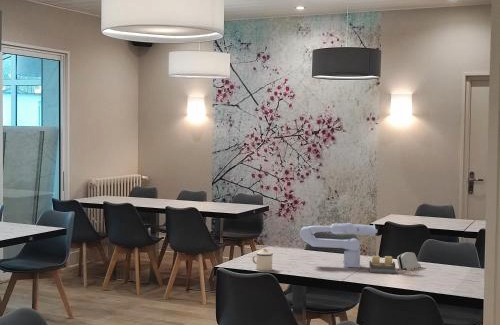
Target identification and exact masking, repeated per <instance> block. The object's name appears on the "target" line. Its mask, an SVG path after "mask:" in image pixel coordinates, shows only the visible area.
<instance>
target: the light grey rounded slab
mask: <svg viewBox="0 0 500 325" xmlns="http://www.w3.org/2000/svg"><path fill="white" fill-rule="evenodd" d="M396 260H397V264H398V265H397V266H398V269H399V270H406V271H407V270H408V271H410V270H411V269H412V270H415V269H418V267H419V268H421V267H422V266H421V263H420V262H418V261H419V260H418V258H417V256H416V254H415V252H412V251H411V252H410V251H409V252H408V251H407V252H404V253H401V254H399V255H398V256H397V257H396ZM414 268H415V269H414Z"/></svg>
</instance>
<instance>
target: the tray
mask: <svg viewBox="0 0 500 325" xmlns="http://www.w3.org/2000/svg"><path fill="white" fill-rule="evenodd" d="M369 273H371V274H386V275H387V274H391V275H397V268H396V266H395V267H384V266H370V268H369Z"/></svg>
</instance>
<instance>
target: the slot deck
mask: <svg viewBox="0 0 500 325" xmlns="http://www.w3.org/2000/svg"><path fill="white" fill-rule="evenodd" d="M368 263H369V264H368V267H369V269H370V266H384V267H395V268H396V263H395V261H392V265H390V264H385V262H380V264H372V260H369V262H368Z"/></svg>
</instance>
